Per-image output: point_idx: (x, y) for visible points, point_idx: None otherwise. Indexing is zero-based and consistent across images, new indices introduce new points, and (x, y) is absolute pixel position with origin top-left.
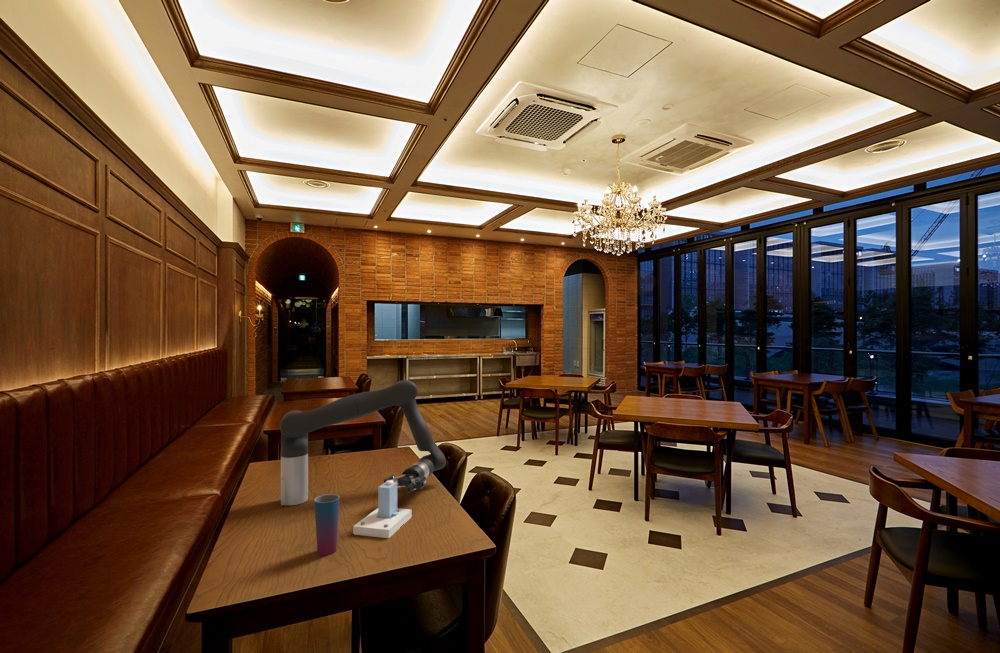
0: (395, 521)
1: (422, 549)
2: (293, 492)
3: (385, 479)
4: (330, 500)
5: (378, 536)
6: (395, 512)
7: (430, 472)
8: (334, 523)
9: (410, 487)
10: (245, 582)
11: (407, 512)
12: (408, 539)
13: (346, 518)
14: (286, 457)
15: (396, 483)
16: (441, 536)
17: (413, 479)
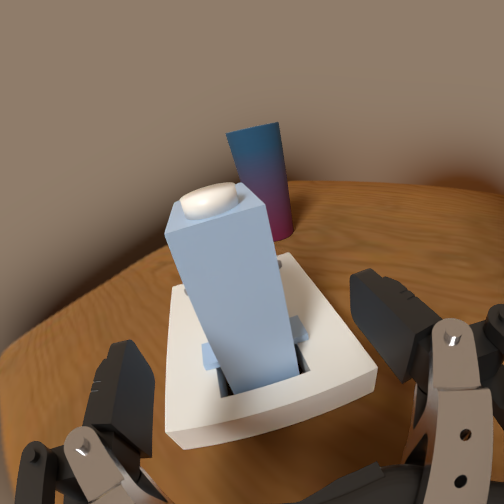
0: (179, 322)
1: (92, 311)
2: None
3: (499, 310)
4: (266, 138)
5: None
6: (213, 354)
7: None
8: (240, 180)
9: (102, 361)
10: (297, 191)
11: (170, 397)
12: (129, 324)
13: (427, 296)
14: None
15: (166, 230)
16: (57, 361)
17: (94, 500)
